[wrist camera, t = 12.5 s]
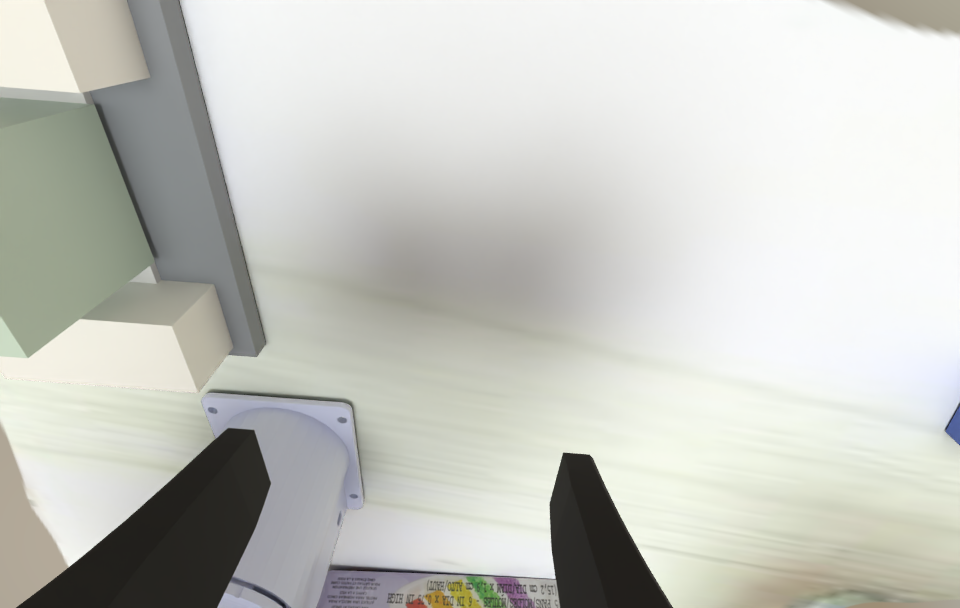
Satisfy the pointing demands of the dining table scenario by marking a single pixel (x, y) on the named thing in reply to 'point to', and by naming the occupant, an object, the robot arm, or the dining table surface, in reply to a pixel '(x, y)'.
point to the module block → (60, 221)
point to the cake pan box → (434, 591)
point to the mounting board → (173, 169)
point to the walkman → (955, 427)
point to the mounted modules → (136, 306)
